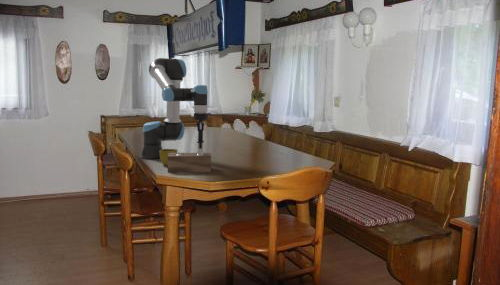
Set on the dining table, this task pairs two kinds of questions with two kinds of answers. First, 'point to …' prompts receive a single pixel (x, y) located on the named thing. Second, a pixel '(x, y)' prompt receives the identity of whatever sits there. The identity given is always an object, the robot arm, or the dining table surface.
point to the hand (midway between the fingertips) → (200, 153)
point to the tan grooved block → (189, 162)
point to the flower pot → (166, 155)
